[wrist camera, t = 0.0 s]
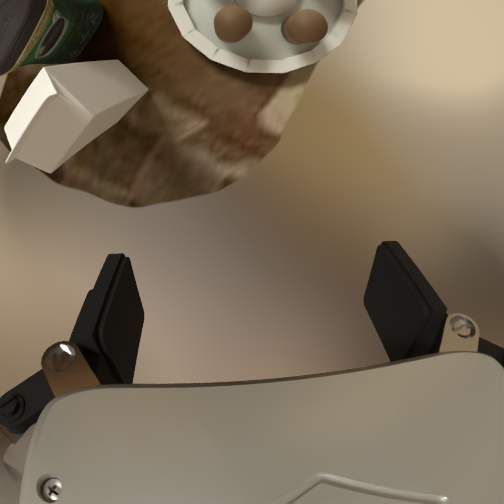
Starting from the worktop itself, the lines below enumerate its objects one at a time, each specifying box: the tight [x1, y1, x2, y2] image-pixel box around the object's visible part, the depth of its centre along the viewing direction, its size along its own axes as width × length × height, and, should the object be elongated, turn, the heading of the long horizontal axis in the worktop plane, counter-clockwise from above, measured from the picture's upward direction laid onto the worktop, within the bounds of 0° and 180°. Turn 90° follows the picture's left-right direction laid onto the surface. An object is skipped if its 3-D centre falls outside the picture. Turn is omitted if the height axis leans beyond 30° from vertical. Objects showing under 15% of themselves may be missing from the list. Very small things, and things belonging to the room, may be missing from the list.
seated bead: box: [214, 5, 253, 43], centre depth 28 cm, size 4×4×6 cm
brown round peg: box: [281, 9, 328, 45], centre depth 28 cm, size 4×4×6 cm
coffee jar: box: [0, 0, 103, 76], centre depth 20 cm, size 10×8×19 cm
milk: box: [4, 60, 149, 173], centre depth 25 cm, size 6×6×22 cm
